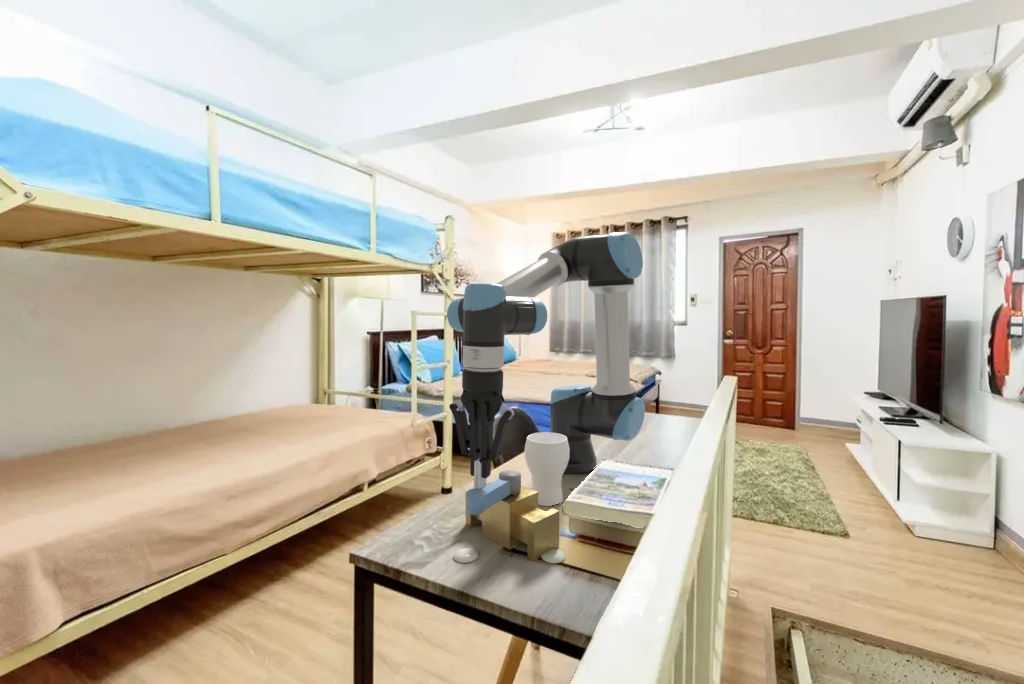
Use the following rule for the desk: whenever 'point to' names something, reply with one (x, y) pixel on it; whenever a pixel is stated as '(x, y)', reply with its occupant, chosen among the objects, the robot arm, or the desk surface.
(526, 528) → the valve body
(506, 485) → the lever
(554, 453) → the cup
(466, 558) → the white domed disc
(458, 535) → the desk surface
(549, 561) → the pale green round dome
